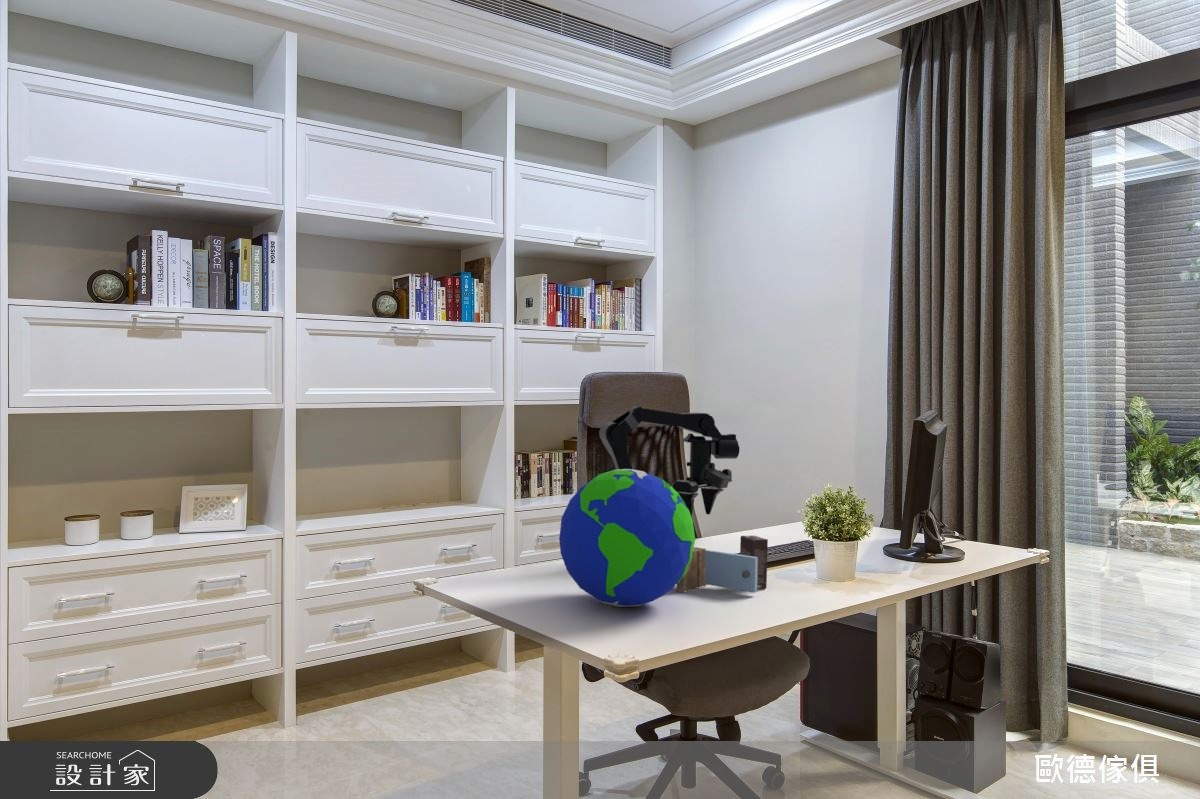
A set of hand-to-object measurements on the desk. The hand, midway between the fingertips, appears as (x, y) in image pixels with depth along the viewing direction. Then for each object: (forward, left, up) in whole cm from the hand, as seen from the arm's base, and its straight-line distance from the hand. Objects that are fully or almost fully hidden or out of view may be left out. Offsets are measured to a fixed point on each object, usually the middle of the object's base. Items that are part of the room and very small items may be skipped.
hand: (699, 516), depth 225 cm
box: (-14, -24, -13) cm, 31 cm away
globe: (-48, -10, -13) cm, 50 cm away
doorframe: (-19, -13, -13) cm, 26 cm away
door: (-23, -22, -12) cm, 34 cm away
